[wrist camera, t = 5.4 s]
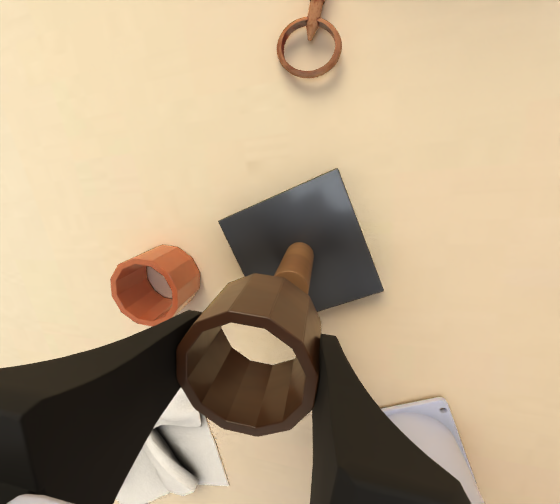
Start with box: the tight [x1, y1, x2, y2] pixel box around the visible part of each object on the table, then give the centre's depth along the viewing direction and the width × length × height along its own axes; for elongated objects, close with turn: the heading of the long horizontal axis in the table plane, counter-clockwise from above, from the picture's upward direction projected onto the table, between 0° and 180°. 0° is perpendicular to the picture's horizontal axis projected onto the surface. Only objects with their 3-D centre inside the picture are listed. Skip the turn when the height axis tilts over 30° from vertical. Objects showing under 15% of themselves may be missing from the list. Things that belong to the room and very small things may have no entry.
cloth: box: [116, 388, 229, 504], centre depth 29 cm, size 20×22×2 cm
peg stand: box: [218, 168, 384, 312], centre depth 18 cm, size 9×9×7 cm
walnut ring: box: [176, 273, 321, 436], centre depth 12 cm, size 5×5×4 cm
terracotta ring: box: [110, 245, 200, 326], centre depth 22 cm, size 5×5×4 cm
